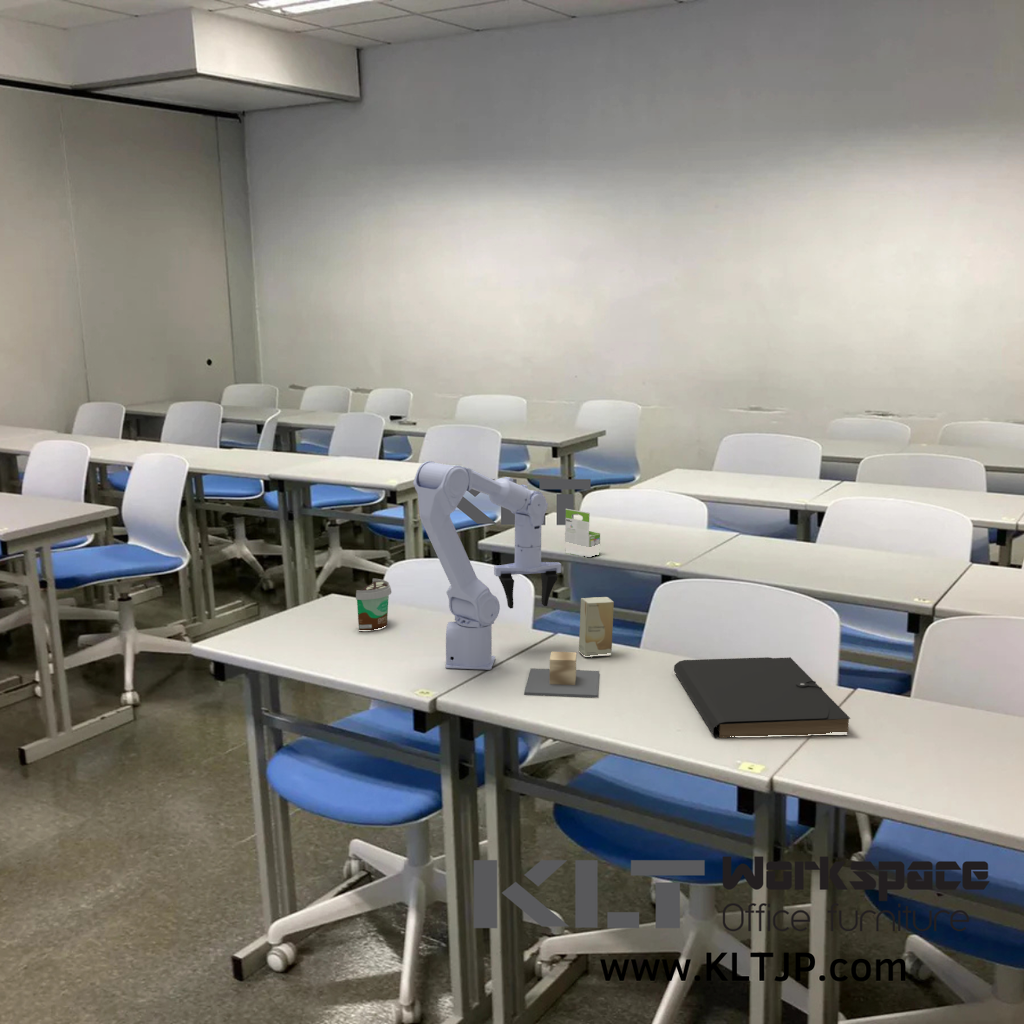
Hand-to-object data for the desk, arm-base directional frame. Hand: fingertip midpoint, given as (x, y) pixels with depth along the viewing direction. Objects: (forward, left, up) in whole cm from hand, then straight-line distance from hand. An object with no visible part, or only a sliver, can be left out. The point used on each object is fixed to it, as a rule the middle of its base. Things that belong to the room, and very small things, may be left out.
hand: (527, 606), depth 226 cm
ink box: (+9, +94, -10) cm, 95 cm away
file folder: (+46, -28, -10) cm, 54 cm away
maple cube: (+9, -21, -9) cm, 25 cm away
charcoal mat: (+9, -22, -9) cm, 26 cm away
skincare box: (+15, -3, -10) cm, 18 cm away
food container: (-36, +12, -10) cm, 39 cm away
